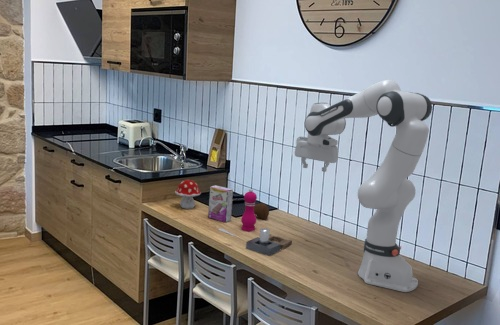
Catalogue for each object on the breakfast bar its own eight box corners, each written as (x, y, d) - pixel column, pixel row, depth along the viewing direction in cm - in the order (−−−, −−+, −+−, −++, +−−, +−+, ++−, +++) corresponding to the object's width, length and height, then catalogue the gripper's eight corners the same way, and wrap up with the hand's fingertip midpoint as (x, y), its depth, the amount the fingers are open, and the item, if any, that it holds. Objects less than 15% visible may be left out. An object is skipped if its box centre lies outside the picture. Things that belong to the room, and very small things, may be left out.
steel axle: (269, 249, 219) (271, 229, 218) (264, 252, 216) (266, 231, 214) (261, 247, 222) (263, 227, 220) (256, 249, 218) (258, 229, 216)
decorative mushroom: (205, 206, 277) (206, 179, 274) (191, 212, 264) (193, 184, 261) (182, 202, 282) (184, 175, 279) (169, 208, 270) (170, 180, 267)
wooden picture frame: (291, 244, 227) (292, 240, 227) (282, 249, 220) (282, 245, 220) (269, 238, 234) (269, 234, 233) (258, 242, 227) (259, 238, 226)
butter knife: (221, 228, 243) (217, 229, 241) (256, 243, 226) (251, 244, 224) (221, 228, 243) (216, 229, 241) (255, 244, 226) (251, 245, 224)
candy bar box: (207, 218, 257) (209, 186, 254) (213, 216, 261) (215, 184, 258) (225, 223, 251) (227, 190, 248) (231, 220, 255) (233, 189, 252)
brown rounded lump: (263, 221, 258) (264, 206, 256) (249, 216, 264) (250, 201, 263) (272, 219, 263) (273, 204, 262) (258, 214, 270) (259, 199, 268)
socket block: (280, 250, 219) (280, 243, 218) (269, 255, 212) (270, 249, 212) (256, 243, 226) (257, 237, 225) (246, 248, 219) (246, 241, 218)
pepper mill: (254, 232, 240) (257, 191, 236) (239, 230, 241) (241, 189, 237) (257, 228, 247) (260, 187, 243) (242, 226, 248) (245, 186, 244)
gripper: (293, 136, 229) (290, 166, 232) (335, 142, 218) (331, 174, 221) (300, 135, 235) (297, 164, 237) (341, 141, 223) (338, 172, 226)
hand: (314, 169), depth 229 cm, fingers open, 8 cm apart
